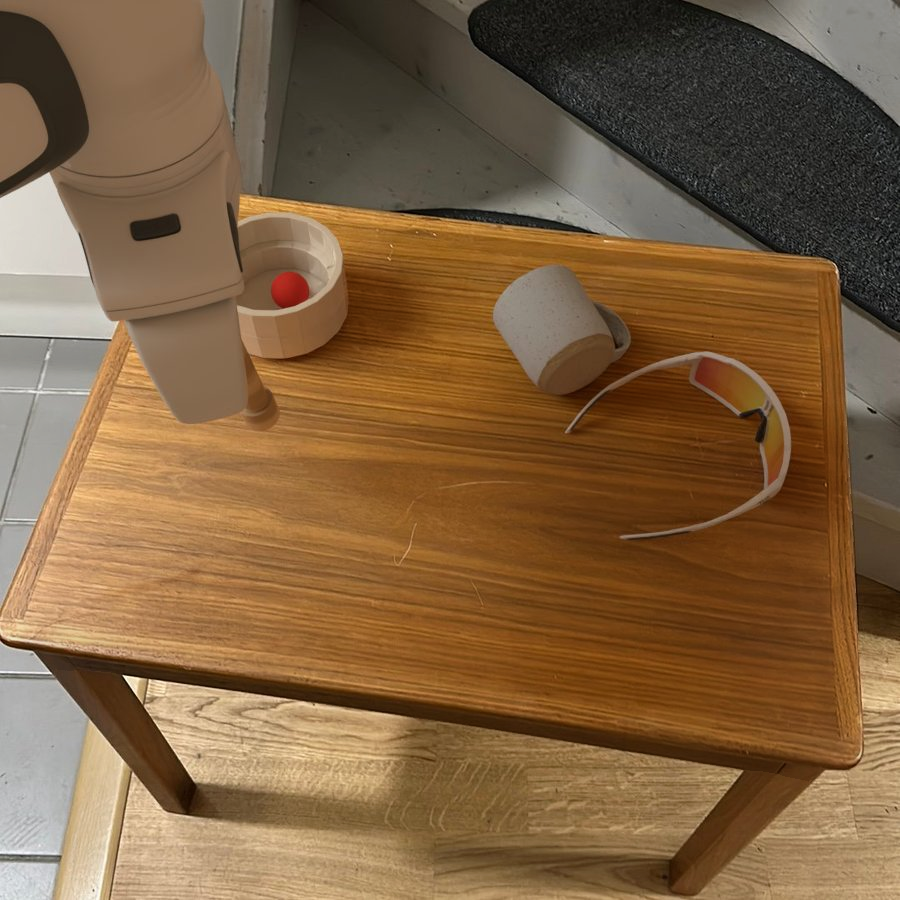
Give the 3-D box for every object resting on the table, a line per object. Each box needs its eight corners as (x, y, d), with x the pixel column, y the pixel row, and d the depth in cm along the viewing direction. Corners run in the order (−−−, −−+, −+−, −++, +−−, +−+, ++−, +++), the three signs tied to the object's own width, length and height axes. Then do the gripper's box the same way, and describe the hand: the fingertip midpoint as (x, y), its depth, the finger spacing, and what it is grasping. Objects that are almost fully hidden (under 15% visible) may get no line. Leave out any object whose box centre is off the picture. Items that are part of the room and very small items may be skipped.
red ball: (263, 308, 77) (277, 278, 75) (267, 288, 79) (281, 258, 77) (299, 323, 78) (313, 293, 76) (302, 302, 80) (316, 273, 78)
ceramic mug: (535, 414, 74) (547, 354, 67) (487, 341, 77) (494, 278, 71) (647, 368, 76) (668, 307, 70) (595, 300, 80) (611, 236, 74)
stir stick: (237, 424, 65) (126, 223, 48) (256, 395, 66) (154, 189, 49) (267, 436, 64) (166, 236, 47) (286, 407, 65) (194, 201, 48)
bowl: (229, 376, 75) (214, 329, 70) (207, 277, 81) (192, 227, 76) (362, 346, 77) (357, 298, 72) (332, 251, 83) (325, 200, 78)
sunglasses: (813, 500, 70) (829, 469, 65) (631, 574, 69) (634, 548, 64) (721, 359, 77) (729, 323, 72) (554, 425, 76) (552, 392, 71)
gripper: (63, 45, 50) (135, 231, 62) (101, 329, 40) (178, 487, 51) (180, 26, 51) (229, 212, 63) (246, 298, 41) (290, 459, 52)
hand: (207, 338), depth 57 cm, fingers closed on stir stick, 2 cm apart
